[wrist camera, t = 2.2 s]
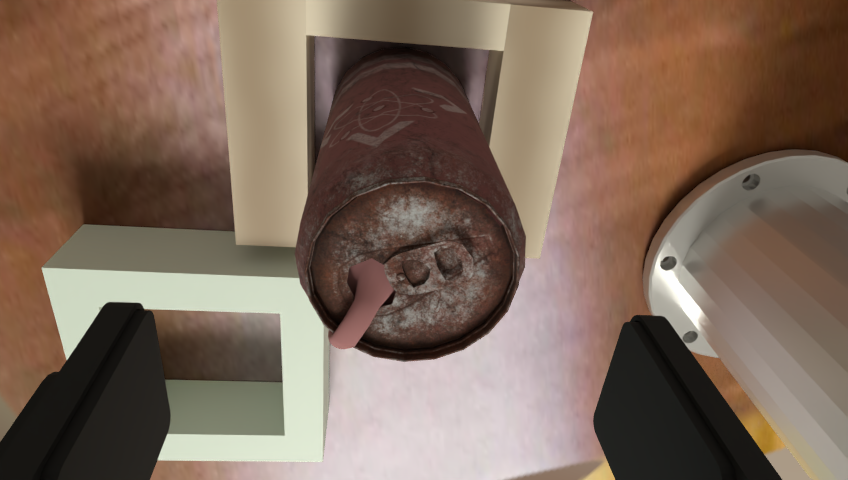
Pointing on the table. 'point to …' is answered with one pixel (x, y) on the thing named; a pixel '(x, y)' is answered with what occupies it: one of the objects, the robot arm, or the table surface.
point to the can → (407, 215)
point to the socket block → (404, 23)
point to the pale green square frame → (207, 291)
